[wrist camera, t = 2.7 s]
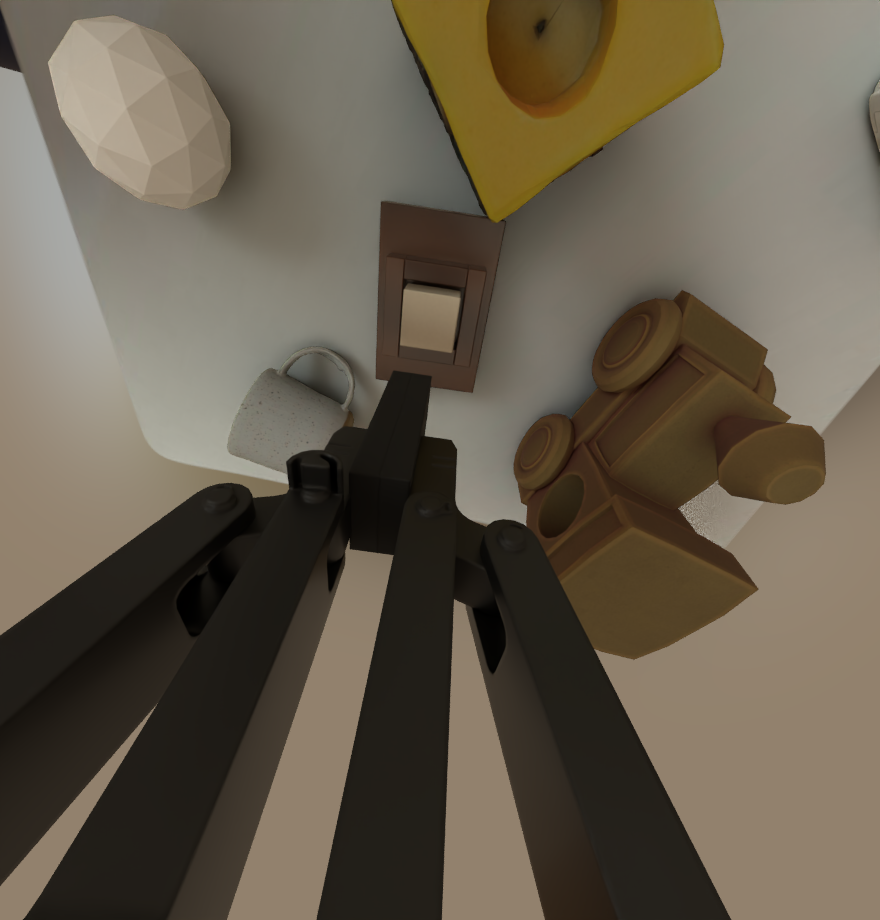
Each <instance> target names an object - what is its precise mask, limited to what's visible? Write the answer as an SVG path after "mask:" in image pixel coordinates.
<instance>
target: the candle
mask: <svg viewBox="0 0 880 920" xmlns="http://www.w3.org/2000/svg"><path fill="white" fill-rule="evenodd" d="M391 1H392V5H393V8H394V11H395V14H396V17H397V20H398V22H399V25H400V28H401V30H402V33H403V35H404V37H405V38H406V41H407V44H408V47H409V49H410V51H411V52H412V53H413V56H414V59H415V62H416V64H417V66H418V69H419V72H420V74H421V77H422V79H423V81H424V83H425V85H426V87H427V88H428V90H429V95H430V96H431V99H432V101H433V103H434V105H435V107H436V110H437V112H438V114H439V117H440V119H441V120H442V121H443V123H444V127H445V129H446V132H447V133H448V134H449V136H450V139H451V142H452V145H453V147H454V150H455V152H456V155H457V157H458V159H459V161H460V164H461V166H462V168H463V170H464V171H465V173H466V175H467V176H468V179H469V181H470V184H471V186H472V189H473V191H474V193H475V195H476V197H477V200H478V202H479V206H480V208H481V209H482V211H483V213H484V214H485V215H487V217H488V218H489V219H490V220H491V222H493V223H498V222H499V221H501V220H502V219H504V218H505V217H507V216H509V215H510V214H512V213H513V212H515V211H516V210H518V209H519V208H520V207H521V206H523V205H524V204H525V203H527V202H528V201H529V200H530V199H532V198H533V197H534V196H535V195H537V194H538V193H539V192H540V191H541V190H543V189H544V188H545V187H546V186H547V185H548V184H550V183H551V182H553V181H554V180H555V179H556V178H558V177H560V176H562V175H564V174H565V173H567V172H569V171H571V170H572V169H573V168H574V167H575V166H577V165H578V164H579V163H581V162H582V161H583V160H585V159H586V158H588V157H592V156H594V155H596V154H597V153H599V152H600V151H602V150H603V146H604V145H606V144H607V143H609V142H610V141H611V140H613V139H614V138H616V137H617V136H619V135H620V134H621V133H623V132H624V131H626V130H627V129H628V128H630V127H631V126H633V125H634V124H636V123H637V122H638V121H640V120H642V119H644V118H645V117H647V116H649V115H650V114H652V113H654V112H655V111H657V110H659V109H660V108H662V107H664V106H666V105H667V104H669V103H670V102H672V101H673V100H675V99H676V98H678V97H679V96H681V95H683V94H684V93H686V92H687V91H689V90H690V89H692V88H693V87H695V86H696V85H698V84H700V83H701V82H702V81H704V80H705V79H706V78H708V77H709V76H710V75H711V74H713V73H714V72H715V71H717V70H718V69H719V68H720V66H721V60H722V54H723V48H724V43H723V38H722V34H721V29H720V25H719V20H718V16H717V12H716V8H715V4H714V0H391Z"/></svg>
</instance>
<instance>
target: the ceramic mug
mask: <svg viewBox="0 0 880 920" xmlns="http://www.w3.org/2000/svg"><path fill="white" fill-rule="evenodd" d="M312 353H319V354H321V355H323V356H325V357H327V358H328V359H330V360H331V361H332V362H334V363H335V364H336V365H337V366H338V369H339V370H341V371H344V373H345V375H346V376H347V377H348V382H349V391H348V395H347V399H346V401H345V403H344V404H342V405H341V404H340V403H338V402H336V401H334V400H332V399H330V398H328V397H326V396H324V395H322V394H320V393H318V392H316V391H315V390H312V389H311V388H309V387H307V386H306V385H304V384H302V383H300V382H298V381H297V380H295V379H293V378H291V377H289V376H288V375H287V371H288V370H289V368H290V367H291V366H292V365H293V363H294V362H295V361H296V360H298V359H299V358H300V357H301V356H303V355H307V354H312ZM354 387H355V381H354V375H353V372H352V370H351V368H350V366H349V365H348V364H347V362H346V361H345V360H344V359H343V358H342V357H341V356H339V355H338V354H336V353H335V352H333V351H331V350H329V349H326V348H323V347H309V348H305V349H302V350H299V351H298V352H296V353H295V354H293V355H292V356H291V357H290V358H289V359H288V360H287V361H286V362H285V363H284V364H283V366H282V367H281V369H280V370H279V371H278V370H275V369H273V368H269V369H267V370H266V371H264V372H263V373H262V374H261V375H260V376H259V377H258V378H257V379H256V381H255V382H254V384H253V385H252V387H251V388H250V390H249V392H248V394H247V395H246V397H245V399H244V401H243V402H242V404H241V407H240V409H239V411H238V413H237V415H236V417H235V420H234V422H233V425H232V428H231V431H230V434H229V439H228V444H227V448H228V451H229V453H230V454H232V455H235V456H238V457H241V458H244V459H247V460H250V461H252V462H255V463H258V464H260V465H263V466H266V467H268V468H271V469H274V470H277V471H280V472H283V473H285V474H287V466H286V461H287V460H288V459H289V458H290V457H292V456H293V455H295V454H298V453H300V452H303V451H308V450H324V449H325V447H326V445H327V444H328V442H329V440H330V438H331V437H332V435H333V433H334V432H336V431H338V430H339V429H341V428H342V427H344V426H349V427H353V424H354V417H353V414H352V413H351V412H350V411H349V410H348V406H349V404H350V402H351V400H352V397H353V393H354Z"/></svg>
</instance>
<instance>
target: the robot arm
mask: <svg viewBox="0 0 880 920" xmlns="http://www.w3.org/2000/svg"><path fill="white" fill-rule="evenodd" d="M431 380H432V376H429V375H422V374H415V373H408V372H401V371H395V370H393V372H392V374H391V377H390V379H389V381H388V384H387V386H386V388H385V390H384V393H383V395H382V397H381V400H380V402H379V404H378V406H377V409H376V411H375V413H374V416H373V418H372V420H371V422H370V425H369V427H368V429H363V428H356V427H349V426H344V427H342V428H341V429H339V430H338V431H336V432H334V433H333V435H332V437H331V438H330V440H329V442H328V444H327V445H326V447H325V449H324V450H308V451H303V452H300V453H298V454H295V455H293V456H292V457H290V458H289V459H288V460H287V461H286V466H287V474H288V481H289V490H288V492H287V493H286V494H283V495H278V496H270V497H258V498H253V496H252V494H251V492H250V490H249V489H248V488H246V487H244V486H243V485H240V484H234V483H224V484H216V485H213V486H210V487H207V488H205V489H203V490H201V491H199V492H197V493H196V494H194V495H193V496H192V497H190V498H189V499H187V500H186V501H185V502H183V503H182V504H181V505H179V506H178V507H176V508H175V509H174V510H173V511H171V512H170V513H168V514H167V515H166V516H164V517H163V518H161V519H160V520H159V521H157V522H156V523H154V524H153V525H152V526H150V527H149V528H148V529H146V530H145V531H143V532H142V533H141V534H139V535H138V536H137V537H135V538H134V539H133V540H131V541H130V542H128V543H127V544H126V545H124V546H123V547H121V548H120V549H119V550H118V551H116V552H115V553H113V554H112V555H111V556H109V557H108V558H106V559H105V560H104V561H102V562H101V563H99V564H98V565H97V566H95V567H94V568H93V569H91V570H90V571H88V572H87V573H86V574H84V575H83V576H81V577H80V578H79V579H77V580H76V581H75V582H73V583H72V584H70V585H69V586H68V587H66V588H65V589H64V590H62V591H61V592H60V593H58V594H57V595H55V596H54V597H53V598H51V599H50V600H48V601H47V602H46V603H44V604H43V605H42V606H40V607H39V608H37V609H36V610H35V611H33V612H32V613H31V614H29V615H28V616H27V617H25V618H24V619H22V620H21V621H20V622H18V623H17V624H15V625H14V626H13V627H11V628H10V629H9V630H7V631H6V632H4V633H3V634H2V635H0V886H1V884H2V883H3V882H4V881H5V880H6V879H7V877H8V876H9V875H10V874H11V873H12V872H13V871H14V869H15V868H16V867H17V866H18V865H19V864H20V862H21V861H22V860H23V859H24V858H25V857H26V855H27V854H28V853H29V852H30V851H31V849H32V848H33V847H34V846H35V845H36V844H37V843H38V842H39V840H40V839H41V838H42V837H43V836H44V835H45V833H46V832H47V831H48V830H49V829H50V827H51V826H52V825H53V824H54V823H55V822H56V821H57V819H58V818H59V817H60V816H61V815H62V814H63V812H64V811H65V810H66V809H67V808H68V807H69V805H70V804H71V803H72V802H73V801H74V800H75V798H76V797H77V796H78V795H79V794H80V793H81V792H82V790H83V789H84V788H85V787H86V785H88V783H89V782H90V781H91V780H92V779H93V778H94V776H95V775H96V774H97V773H98V772H99V771H100V769H101V768H102V767H103V766H104V765H105V763H106V762H107V761H108V760H109V759H110V758H111V757H112V755H113V754H114V753H115V752H116V751H117V750H118V749H119V747H120V746H121V745H122V744H123V743H124V741H125V740H126V739H127V738H128V737H129V736H130V734H131V733H132V732H133V731H134V730H135V729H136V728H137V727H138V725H139V724H140V723H141V722H142V721H143V719H144V718H145V717H146V716H147V715H148V713H150V711H151V710H152V709H153V708H154V707H155V706H156V704H157V703H158V704H157V706H156V707H155V709H154V711H153V712H152V714H151V715H150V717H149V719H148V720H147V722H146V724H145V725H144V727H143V729H142V730H141V732H140V734H139V735H138V737H137V738H136V740H135V742H134V743H133V745H132V747H131V748H130V750H129V751H128V753H127V755H126V756H125V758H124V760H123V761H122V763H121V764H120V766H119V768H118V769H117V771H116V773H115V774H114V776H113V778H112V779H111V781H110V782H109V784H108V786H107V787H106V789H105V791H104V792H103V794H102V796H101V797H100V799H99V800H98V802H97V804H96V806H95V807H94V808H93V811H92V812H91V813H90V815H89V817H88V818H87V820H86V822H85V823H84V825H83V826H82V828H81V830H80V831H79V833H78V835H77V836H76V838H75V840H74V841H73V843H72V844H71V846H70V848H69V849H68V851H67V853H66V854H65V856H64V857H63V860H62V861H61V862H60V864H59V866H58V867H57V869H56V871H55V872H54V874H53V875H52V877H51V879H50V881H49V882H48V884H47V885H46V887H45V888H44V890H43V892H42V894H41V895H40V897H39V898H38V900H37V901H36V902H35V904H34V905H33V907H32V908H31V910H30V911H29V913H28V914H27V916H26V917H25V918H24V919H23V920H227V917H228V914H229V911H230V908H231V905H232V902H233V899H234V896H235V893H236V890H237V887H238V884H239V881H240V878H241V875H242V872H243V869H244V866H245V863H246V860H247V857H248V854H249V851H250V848H251V845H252V842H253V839H254V836H255V833H256V830H257V827H258V824H259V821H260V818H261V815H262V812H263V809H264V806H265V803H266V800H267V797H268V794H269V791H270V788H271V785H272V782H273V779H274V776H275V773H276V770H277V767H278V764H279V761H280V758H281V755H282V752H283V749H284V746H285V743H286V740H287V737H288V734H289V731H290V728H291V725H292V722H293V719H294V716H295V713H296V710H297V707H298V704H299V701H300V698H301V695H302V692H303V689H304V686H305V683H306V680H307V677H308V674H309V671H310V668H311V665H312V662H313V659H314V656H315V653H316V650H317V647H318V644H319V641H320V638H321V635H322V632H323V629H324V626H325V623H326V620H327V617H328V614H329V611H330V608H331V605H332V602H333V599H334V596H335V593H336V590H337V587H338V584H339V581H340V578H341V575H342V572H343V569H344V566H345V550H346V547H347V544H348V541H349V538H350V549H353V550H360V551H367V552H375V553H382V554H390V555H394V556H393V561H392V566H391V570H390V575H389V580H388V585H387V589H386V594H385V599H384V603H383V608H382V613H381V618H380V623H379V627H378V632H377V637H376V641H375V646H374V651H373V656H372V660H371V665H370V670H369V674H368V679H367V684H366V688H365V693H364V698H363V702H362V707H361V712H360V717H359V721H358V726H357V731H356V736H355V741H354V745H353V750H352V755H351V759H350V764H349V769H348V773H347V778H346V783H345V787H344V792H343V797H342V802H341V806H340V811H339V816H338V820H337V825H336V830H335V835H334V839H333V844H332V849H331V854H330V858H329V863H328V868H327V873H326V877H325V882H324V887H323V891H322V896H321V901H320V905H319V910H318V915H317V920H442V899H443V872H444V871H443V870H444V846H445V845H444V843H445V818H446V792H447V766H448V740H449V712H450V686H451V685H450V684H451V660H452V633H453V606H454V599H455V600H457V601H459V602H462V603H464V604H466V610H467V614H468V618H469V622H470V626H471V630H472V634H473V637H474V642H475V646H476V650H477V654H478V658H479V662H480V665H481V669H482V673H483V677H484V681H485V685H486V689H487V693H488V697H489V701H490V705H491V709H492V713H493V717H494V721H495V725H496V728H497V732H498V736H499V740H500V744H501V748H502V752H503V756H504V760H505V764H506V767H507V772H508V775H509V780H510V784H511V787H512V791H513V795H514V799H515V803H516V807H517V811H518V815H519V819H520V823H521V827H522V831H523V834H524V839H525V842H526V846H527V850H528V854H529V858H530V862H531V866H532V870H533V873H534V878H535V882H536V886H537V890H538V894H539V898H540V902H541V905H542V909H543V913H544V917H545V920H731V918H730V916H729V915H728V913H727V911H726V909H725V907H724V905H723V903H722V901H721V899H720V897H719V895H718V893H717V891H716V889H715V887H714V885H713V883H712V881H711V879H710V877H709V876H708V873H707V871H706V869H705V867H704V865H703V863H702V861H701V859H700V857H699V855H698V853H697V851H696V849H695V848H694V845H693V843H692V842H691V840H690V838H689V836H688V834H687V832H686V830H685V828H684V826H683V824H682V822H681V820H680V818H679V816H678V814H677V812H676V810H675V808H674V806H673V804H672V802H671V800H670V798H669V796H668V794H667V792H666V790H665V788H664V786H663V784H662V782H661V781H660V778H659V776H658V774H657V772H656V771H655V769H654V766H653V765H652V763H651V761H650V759H649V757H648V755H647V753H646V751H645V749H644V747H643V745H642V743H641V741H640V739H639V737H638V735H637V733H636V731H635V729H634V727H633V725H632V723H631V721H630V719H629V717H628V715H627V713H626V711H625V709H624V707H623V705H622V703H621V702H620V699H619V697H618V696H617V693H616V692H615V690H614V688H613V686H612V684H611V682H610V680H609V678H608V676H607V674H606V672H605V670H604V668H603V666H602V664H601V662H600V660H599V658H598V656H597V654H596V652H595V650H594V648H593V646H592V644H591V642H590V640H589V638H588V636H587V634H586V632H585V630H584V628H583V626H582V624H581V622H580V620H579V618H578V616H577V615H576V613H575V611H574V609H573V607H572V605H571V603H570V601H569V599H568V597H567V595H566V593H565V591H564V589H563V587H562V585H561V583H560V581H559V579H558V577H557V575H556V573H555V571H554V569H553V567H552V565H551V563H550V561H549V559H548V557H547V555H546V553H545V551H544V549H543V547H542V545H541V543H540V541H539V540H538V538H537V536H536V535H535V534H534V533H533V531H532V530H531V529H529V528H528V527H526V526H525V525H524V524H521V523H519V522H516V521H513V520H504V519H502V520H497V521H494V522H492V523H491V524H489V525H488V526H487V527H485V526H483V525H480V524H478V523H475V522H473V521H471V520H469V519H468V518H467V517H465V516H464V515H463V514H462V513H461V512H460V511H459V510H458V508H457V506H456V502H455V489H456V465H457V448H456V447H455V445H454V444H453V442H452V440H448V439H441V438H434V437H427V436H425V428H426V420H427V412H428V404H429V396H430V388H431Z"/></svg>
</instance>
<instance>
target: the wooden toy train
mask: <svg viewBox="0 0 880 920" xmlns="http://www.w3.org/2000/svg"><path fill="white" fill-rule="evenodd" d="M767 351H768V349H766V348H765V347H763V346H762V345H761V344H759V343H758V342H757V341H755V340H754V339H752V338H751V337H750V336H748V335H747V334H745V333H744V332H743V331H741V330H740V329H739V328H737V327H736V326H734V325H733V324H732V323H730V322H729V321H727V320H726V319H725V318H723V317H722V316H721V315H719V314H718V313H716V312H715V311H714V310H712V309H711V308H709V307H708V306H707V305H705V304H704V303H703V302H701V301H700V300H698V299H697V298H696V297H694V296H693V295H691V294H690V293H687V292H685V291H683V290H682V291H681V292H680V293H679V294H678V296H677V297H676V298H675V299H674V300H667V299H658V298H655V299H652V300H648V301H645V302H642V303H640V304H638V305H636V306H635V307H633V308H631V309H630V310H629V311H627V312H626V313H625V314H624V315H623V316H622V317H620V318H619V319H618V321H617V322H616V323H615V324H614V325H613V326H612V327H611V328H610V330H609V331H608V332H607V334H606V335H605V337H604V338H603V339H602V341H601V343H600V345H599V347H598V349H597V351H596V353H595V356H594V359H593V366H592V375H593V378H594V381H595V383H596V385H597V386H598V388H597V389H596V390H595V391H594V393H593V394H592V395H591V396H590V397H589V398H588V399H587V401H586V402H585V403H584V404H583V405H582V406H581V408H580V409H579V410H578V411H577V412H576V413H575V414H574V416H573V417H572V418H571V419H570V420H569V419H568V418H567V417H566V416H565V415H561V414H551V415H548V416H545V417H543V418H541V419H540V420H538V421H537V422H536V423H535V424H534V425H533V426H532V427H531V428H530V429H529V430H528V432H527V433H526V435H525V436H524V437H523V439H522V441H521V443H520V445H519V447H518V450H517V452H516V455H515V460H514V475H515V478H516V480H517V482H518V487H519V492H520V498H521V503H523V504H525V505H527V520H526V525H527V527H528V528H529V529H531V530H532V531H533V533H534V534H535V535H536V536H537V538H538V540H539V541H540V543H541V545H542V547H543V549H544V551H545V553H546V555H547V557H548V559H549V561H550V563H551V565H552V567H553V569H554V571H555V573H556V575H557V577H558V579H559V581H560V583H561V585H562V587H563V589H564V591H565V593H566V595H567V597H568V599H569V601H570V603H571V605H572V607H573V609H574V611H575V613H576V615H577V616H578V618H579V620H580V622H581V624H582V626H583V628H584V630H585V632H586V634H587V636H588V638H589V640H590V642H591V644H592V646H593V648H594V649H596V650H599V651H601V652H605V653H609V654H613V655H618V656H622V657H626V658H630V659H637V658H639V657H642V656H644V655H647V654H649V653H652V652H654V651H657V650H660V649H662V648H665V647H667V646H669V645H671V644H673V643H675V642H677V641H679V640H680V639H682V638H684V637H686V636H688V635H689V634H691V633H693V632H695V631H697V630H698V629H700V628H702V627H704V626H706V625H707V624H709V623H711V622H713V621H715V620H716V619H718V618H720V617H722V616H724V615H725V614H726V613H728V612H729V611H730V610H732V609H733V608H734V607H736V606H737V605H738V604H740V603H741V602H742V601H744V600H745V599H746V598H748V597H749V596H750V595H752V594H753V593H754V592H756V591H757V590H758V588H757V586H756V585H755V584H754V582H753V581H752V580H751V578H750V577H749V576H748V574H747V573H746V572H745V570H744V569H743V568H742V566H741V565H740V564H739V562H738V561H737V560H736V558H735V557H734V556H733V554H731V553H730V552H728V551H727V550H725V549H723V548H721V547H720V546H718V545H716V544H715V543H713V542H711V541H710V540H708V539H706V538H704V537H703V536H701V535H699V534H697V533H696V532H695V530H694V529H693V527H692V526H691V525H690V523H689V522H688V521H687V520H686V518H685V517H684V516H683V514H682V513H681V512H680V510H679V509H678V508H679V507H680V506H682V505H683V504H685V503H686V502H688V501H689V500H691V499H692V498H694V497H695V496H697V495H698V494H700V493H701V492H703V491H704V490H705V489H706V488H708V487H709V486H710V485H712V484H713V483H714V482H715V481H717V480H718V482H719V485H720V486H721V487H722V488H723V489H725V490H726V491H727V492H728V493H729V494H730V495H731V496H737V497H742V498H748V499H754V500H759V501H765V502H770V503H778V504H785V505H786V504H791V503H795V502H800V501H802V500H804V499H805V498H807V497H809V496H811V495H813V494H815V493H816V492H817V490H818V489H819V488H820V487H821V486H822V485H823V484H824V480H825V475H826V468H825V452H824V440H823V439H822V437H821V436H820V435H819V434H818V433H817V432H816V431H815V430H814V428H813V427H812V426H805V425H798V424H791V423H785V422H786V421H788V420H789V419H790V418H791V416H789V415H788V414H786V413H785V412H783V411H782V410H780V409H779V408H778V407H776V406H775V405H773V402H774V397H775V393H776V386H775V382H774V378H773V373H772V372H771V371H770V370H769V369H768V368H767V367H766V366H765V365H763V364H764V361H765V358H766V354H767Z"/></svg>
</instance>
